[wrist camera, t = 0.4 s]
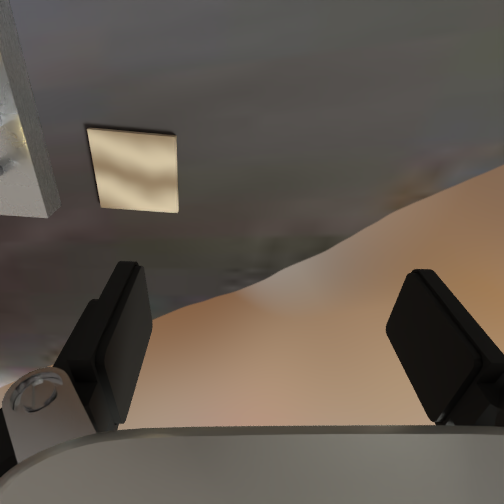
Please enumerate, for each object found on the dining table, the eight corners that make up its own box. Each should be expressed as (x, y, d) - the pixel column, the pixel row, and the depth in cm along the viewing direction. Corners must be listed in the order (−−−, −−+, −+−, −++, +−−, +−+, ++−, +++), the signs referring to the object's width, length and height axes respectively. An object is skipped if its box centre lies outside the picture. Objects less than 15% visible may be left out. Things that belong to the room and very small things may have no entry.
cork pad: (89, 127, 41) (87, 129, 41) (176, 135, 42) (175, 137, 42) (103, 205, 47) (101, 207, 47) (178, 210, 48) (177, 213, 48)
